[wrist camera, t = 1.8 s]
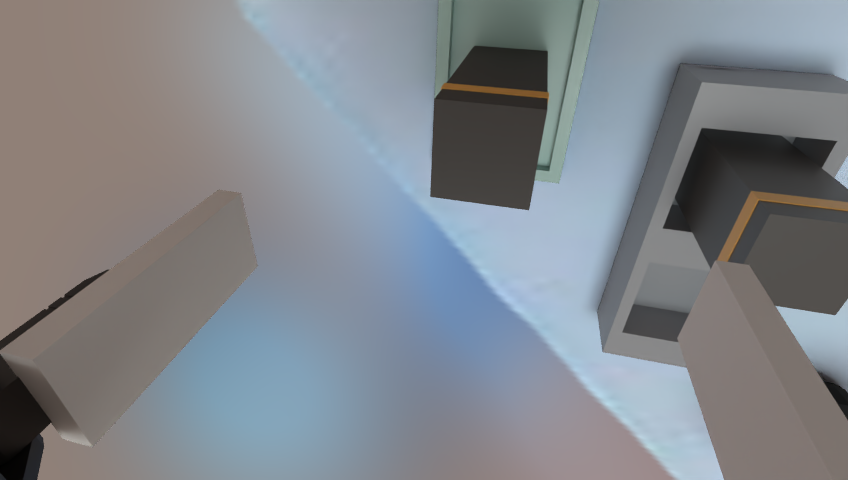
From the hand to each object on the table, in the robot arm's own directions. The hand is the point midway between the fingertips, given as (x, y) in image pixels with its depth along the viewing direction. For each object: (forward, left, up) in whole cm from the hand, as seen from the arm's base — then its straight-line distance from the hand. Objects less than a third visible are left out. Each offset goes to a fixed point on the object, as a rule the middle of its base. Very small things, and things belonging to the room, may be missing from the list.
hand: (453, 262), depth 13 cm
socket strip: (+8, +14, -20) cm, 26 cm away
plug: (0, 0, -20) cm, 20 cm away
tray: (0, 0, -20) cm, 20 cm away
